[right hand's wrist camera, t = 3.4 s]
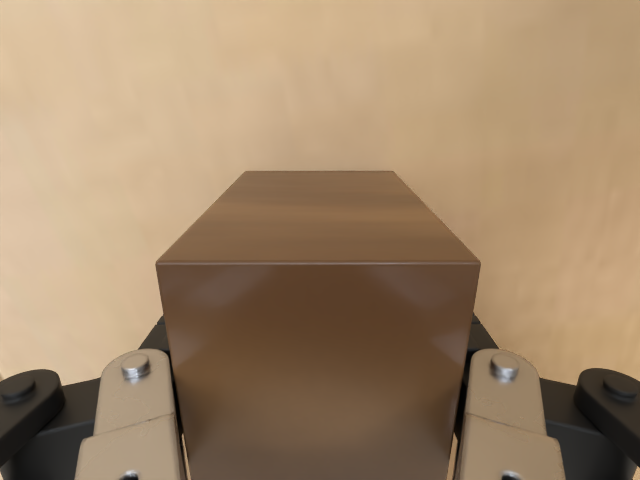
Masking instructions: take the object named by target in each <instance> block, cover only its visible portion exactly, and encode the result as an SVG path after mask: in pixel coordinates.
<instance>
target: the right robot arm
mask: <svg viewBox="0 0 640 480" xmlns="http://www.w3.org/2000/svg"><path fill="white" fill-rule="evenodd" d="M454 433H455V435H456V438H457V440H458V441H457V447H456V454H455V462H454V470H453V478H452V480H633V479H632V478H633V476H634V473H635V471H636V468H637V466H638V467H639V468H640V381H638V380H636V379H634V378H632V377H630V376H628V375H625V374H622V373H619V372H616V371H613V370H608V369H602V368H591V369H587V370H584V371H583V372H582V373H581V374H580V376H579V379H578V382H577V386H575V385H570V384H566V383H561V382H556V381H551V380H547V379H543V378H539V375H538V372H537V370H536V369H535V367H534V366H533V365H532V364H531V363H530V362H528V361H527V360H526V359H524V358H522V357H521V356H519V355H517V354H514V353H512V352H509V351H505V350H500V349H499V348H498V346H497V345H496V344H495V342H494V341H493V339H492V338H491V336H490V335H489V334H488V332H487V331H486V329H485V328H484V327H483V325H482V324H480V321H479V320H478V318H477V317H476V316H474V312H473V315H472V322H471V328H470V334H469V341H468V347H467V353H466V359H465V366H464V372H463V378H462V384H461V391H460V397H459V403H458V409H457V416H456V422H455V428H454ZM182 434H183V427H182V421H181V415H180V409H179V403H178V397H177V391H176V385H175V379H174V373H173V367H172V361H171V355H170V349H169V343H168V337H167V331H166V325H165V319H164V314H163V316H162V317H161V318H160V319H159V321H158V322H157V325H155V326H154V328H153V329H152V331H151V332H150V333H149V335H148V336H147V338H146V339H145V340H144V342H143V343H142V344H141V346H140V347H139V349H138V350H135V351H131V352H128V353H126V354H123V355H121V356H119V357H118V358H116V359H114V360H113V361H112V362H110V363H109V364H108V365H107V366H106V367H105V369H104V370H103V372H102V375H101V377H100V378H97V379H93V380H89V381H84V382H80V383H75V384H70V385H65V386H62V385H61V382H60V378H59V376H58V374H57V373H56V372H54V371H51V370H45V369H39V370H31V371H27V372H23V373H19V374H16V375H14V376H11V377H9V378H7V379H5V380H3V381H1V382H0V472H1V475H2V477H3V480H188V478H187V470H186V462H185V454H184V447H183V441H182Z"/></svg>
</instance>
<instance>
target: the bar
mask: <svg viewBox="0 0 640 480" xmlns="http://www.w3.org/2000/svg"><path fill="white" fill-rule="evenodd" d="M480 265H481V263H480V261H479V260H478V259H477V258H476V256H475V255H474V254H473V253H472V252H471V251H470V250H469V249H468V248H467V247H466V246H465V245H464V244H463V243H462V242H461V241H460V240H459V239H458V238H457V237H456V236H455V235H454V234H453V233H452V232H451V231H450V230H449V229H448V228H447V227H446V225H445V224H444V223H443V222H442V221H441V220H440V219H439V218H438V217H437V216H436V215H435V214H434V213H433V212H432V211H431V210H430V209H429V208H428V207H427V206H426V205H425V204H424V203H423V202H422V201H421V200H420V199H419V198H418V197H417V196H416V194H415V193H414V192H413V191H412V190H411V189H410V188H409V187H408V186H407V185H406V184H405V183H404V182H403V181H402V180H401V179H400V178H399V177H398V176H397V175H396V174H395V173H394V172H393V171H246V172H244V173H243V174H242V175H241V176H240V177H239V178H238V179H237V180H236V181H235V182H234V183H233V184H232V185H231V186H230V187H229V188H228V189H227V190H226V191H225V192H224V193H223V194H222V195H221V196H220V197H219V198H218V199H217V200H216V201H215V202H214V203H213V204H212V206H211V207H210V208H209V209H208V210H207V211H206V212H205V213H204V214H203V215H202V216H201V217H200V218H199V219H198V220H197V221H196V222H195V223H194V224H193V225H192V226H191V227H190V228H189V229H188V230H187V231H186V232H185V233H184V234H183V235H182V236H181V237H180V238H179V239H178V240H177V241H176V242H175V243H174V244H173V245H172V246H171V247H170V248H169V249H168V250H167V251H166V252H165V253H164V254H163V255H162V256H161V257H160V258H159V259H158V260H157V261H156V271H157V277H158V283H159V289H160V295H161V301H162V307H163V313H164V319H165V325H166V331H167V337H168V343H169V349H170V355H171V361H172V367H173V373H174V379H175V385H176V391H177V397H178V403H179V409H180V415H181V421H182V427H183V434H184V440H185V446H186V452H187V458H188V464H189V470H190V476H191V480H446V478H447V472H448V466H449V459H450V453H451V447H452V441H453V434H454V428H455V422H456V416H457V409H458V403H459V397H460V391H461V384H462V378H463V372H464V366H465V359H466V353H467V347H468V341H469V334H470V328H471V322H472V315H473V309H474V303H475V297H476V290H477V284H478V278H479V272H480Z"/></svg>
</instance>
